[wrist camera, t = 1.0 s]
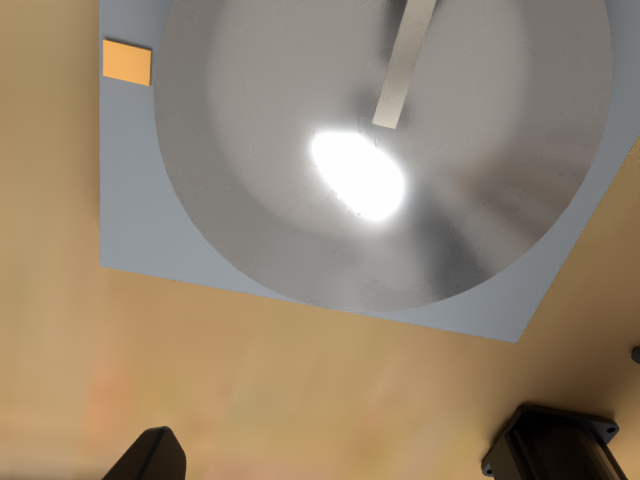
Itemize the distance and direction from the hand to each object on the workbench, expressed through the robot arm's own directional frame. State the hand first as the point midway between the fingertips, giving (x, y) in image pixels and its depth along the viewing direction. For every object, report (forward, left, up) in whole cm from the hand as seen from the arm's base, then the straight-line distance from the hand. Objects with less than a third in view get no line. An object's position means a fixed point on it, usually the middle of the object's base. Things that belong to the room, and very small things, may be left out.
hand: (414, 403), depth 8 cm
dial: (0, -2, -11) cm, 11 cm away
